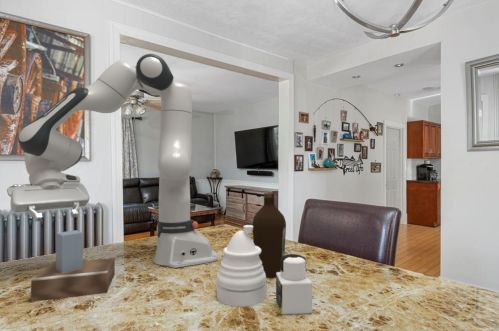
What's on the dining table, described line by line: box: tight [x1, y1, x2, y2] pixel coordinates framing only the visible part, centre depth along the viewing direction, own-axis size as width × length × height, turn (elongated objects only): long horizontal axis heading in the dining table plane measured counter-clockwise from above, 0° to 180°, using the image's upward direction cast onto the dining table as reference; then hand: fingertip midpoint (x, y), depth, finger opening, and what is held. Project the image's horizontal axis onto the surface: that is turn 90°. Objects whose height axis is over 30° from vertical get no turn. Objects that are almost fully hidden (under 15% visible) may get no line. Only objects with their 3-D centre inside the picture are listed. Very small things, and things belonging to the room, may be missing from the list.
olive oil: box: [251, 192, 287, 278], centre depth 91 cm, size 11×11×25 cm
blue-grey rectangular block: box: [55, 229, 84, 274], centre depth 80 cm, size 5×5×10 cm
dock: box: [30, 257, 116, 302], centre depth 80 cm, size 17×14×5 cm
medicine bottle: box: [275, 253, 313, 315], centre depth 68 cm, size 7×7×12 cm
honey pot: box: [216, 224, 267, 308], centre depth 75 cm, size 13×13×18 cm
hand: (57, 217), depth 86 cm, fingers open, 8 cm apart
